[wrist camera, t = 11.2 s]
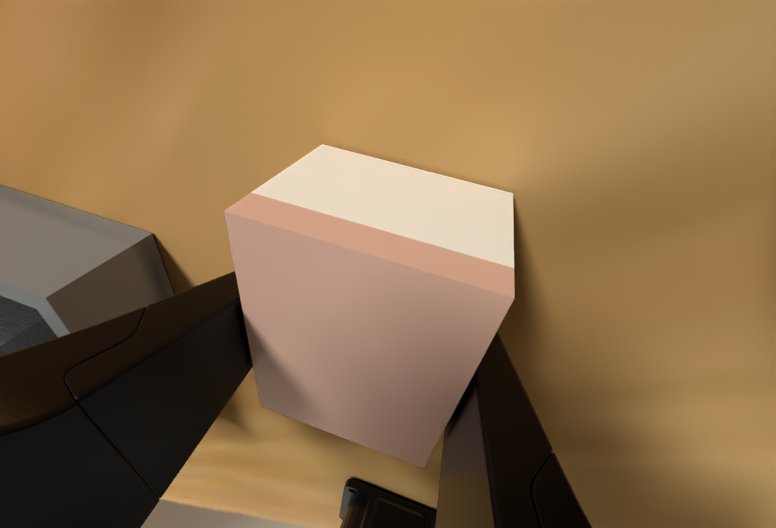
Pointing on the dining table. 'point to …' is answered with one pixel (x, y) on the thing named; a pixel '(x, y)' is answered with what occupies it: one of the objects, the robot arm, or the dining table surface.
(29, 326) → the metal box
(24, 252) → the tote
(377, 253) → the pinkish brown block
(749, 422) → the dining table surface
